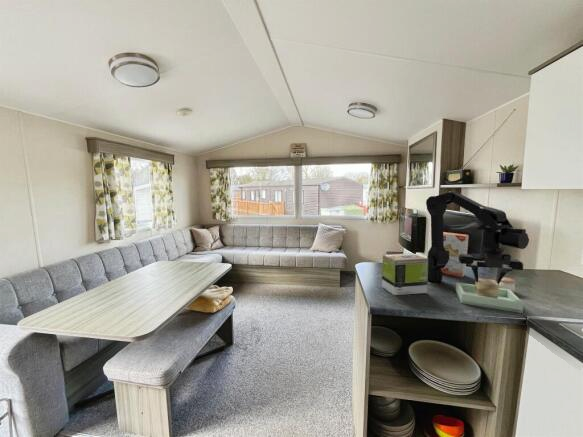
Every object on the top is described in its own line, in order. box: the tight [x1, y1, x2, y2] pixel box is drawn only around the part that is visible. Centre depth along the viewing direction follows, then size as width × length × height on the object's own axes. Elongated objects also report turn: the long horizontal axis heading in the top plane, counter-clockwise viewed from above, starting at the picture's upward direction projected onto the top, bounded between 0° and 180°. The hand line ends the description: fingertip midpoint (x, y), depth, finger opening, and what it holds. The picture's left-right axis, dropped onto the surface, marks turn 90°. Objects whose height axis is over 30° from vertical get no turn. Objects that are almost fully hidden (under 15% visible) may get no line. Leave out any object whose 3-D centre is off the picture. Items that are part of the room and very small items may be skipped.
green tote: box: [455, 282, 525, 314], centre depth 98 cm, size 18×14×4 cm
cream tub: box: [499, 276, 516, 294], centre depth 108 cm, size 6×6×5 cm
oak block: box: [474, 277, 499, 298], centre depth 98 cm, size 6×6×5 cm
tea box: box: [381, 253, 429, 296], centre depth 107 cm, size 15×10×15 cm
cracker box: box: [441, 231, 469, 278], centre depth 131 cm, size 14×6×21 cm, turn 43°
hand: (486, 283), depth 98 cm, fingers closed on oak block, 6 cm apart
